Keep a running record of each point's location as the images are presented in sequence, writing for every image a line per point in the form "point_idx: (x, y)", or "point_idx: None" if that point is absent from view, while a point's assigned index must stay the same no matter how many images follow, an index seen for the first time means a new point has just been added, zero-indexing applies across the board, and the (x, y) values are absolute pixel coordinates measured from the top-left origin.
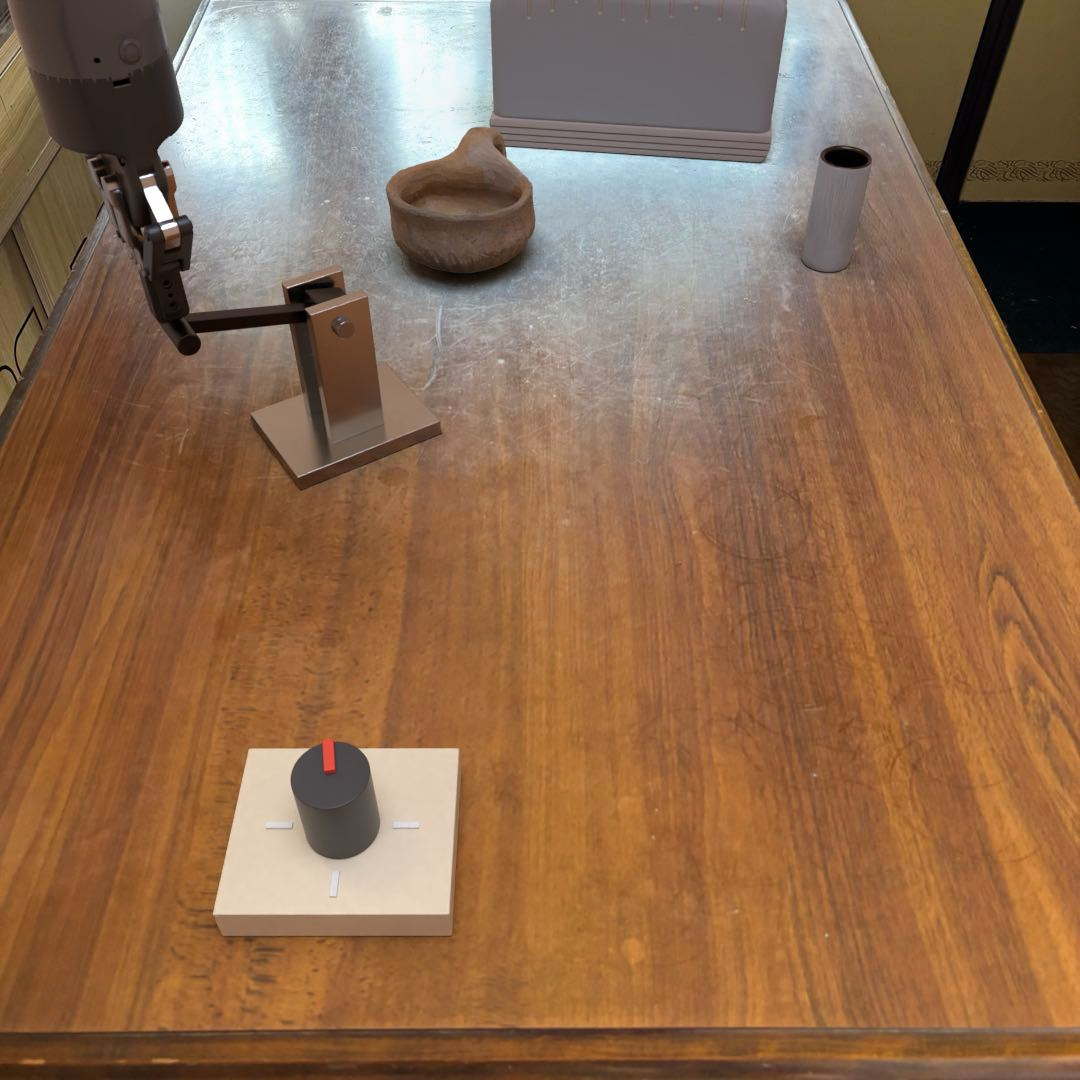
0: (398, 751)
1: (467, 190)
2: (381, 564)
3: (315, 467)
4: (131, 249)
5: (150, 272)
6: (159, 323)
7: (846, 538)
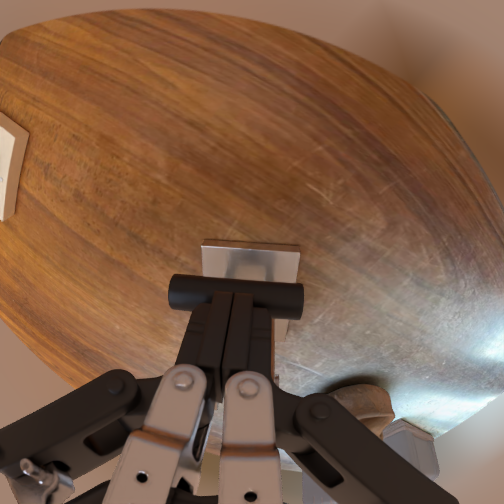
0: (3, 199)
1: (367, 419)
2: (116, 246)
3: (204, 260)
4: (224, 409)
5: (88, 388)
6: (255, 283)
7: (88, 371)
